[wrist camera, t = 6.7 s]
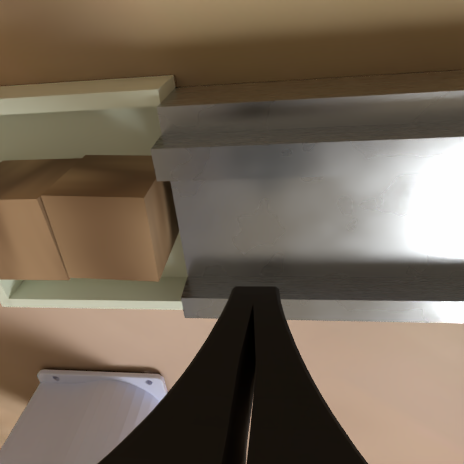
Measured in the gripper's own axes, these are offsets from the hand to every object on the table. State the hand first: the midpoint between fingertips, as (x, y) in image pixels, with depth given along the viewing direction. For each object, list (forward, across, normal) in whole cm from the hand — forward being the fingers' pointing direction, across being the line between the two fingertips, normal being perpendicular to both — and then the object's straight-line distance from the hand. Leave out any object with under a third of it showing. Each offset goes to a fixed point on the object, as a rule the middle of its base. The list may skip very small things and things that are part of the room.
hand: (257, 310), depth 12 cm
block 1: (+5, +8, 0) cm, 10 cm away
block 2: (+7, +6, 0) cm, 10 cm away
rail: (+8, -3, 0) cm, 9 cm away
